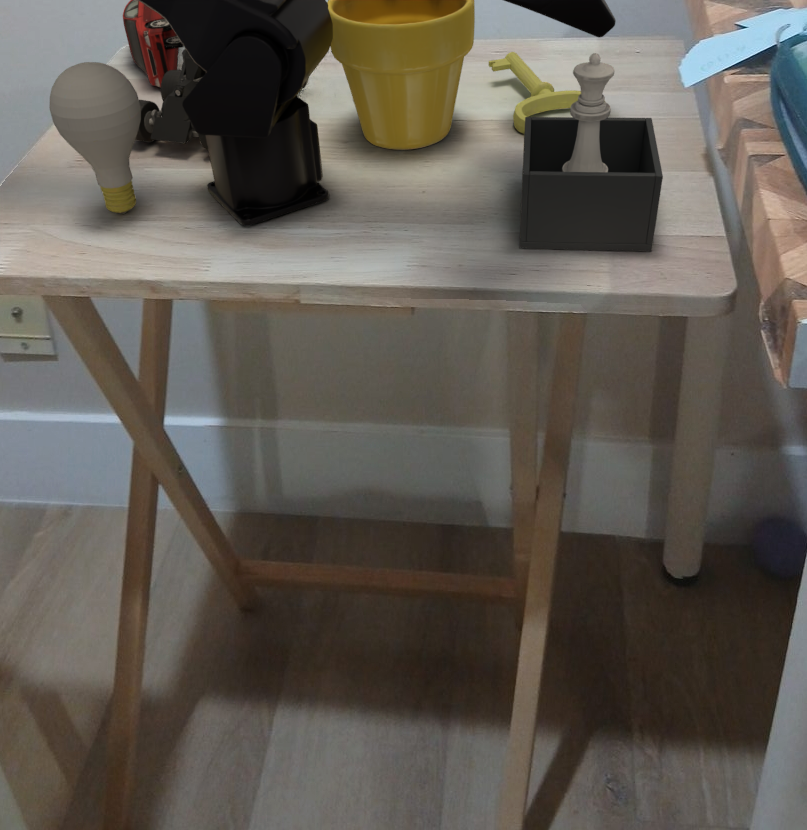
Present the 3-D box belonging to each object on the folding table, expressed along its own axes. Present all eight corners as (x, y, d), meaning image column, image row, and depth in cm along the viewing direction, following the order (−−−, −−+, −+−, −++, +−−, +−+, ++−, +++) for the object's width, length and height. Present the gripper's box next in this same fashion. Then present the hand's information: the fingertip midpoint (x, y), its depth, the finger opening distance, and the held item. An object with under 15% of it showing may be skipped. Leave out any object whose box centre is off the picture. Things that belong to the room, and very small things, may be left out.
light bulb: (173, 192, 65) (140, 48, 59) (150, 232, 61) (111, 81, 54) (99, 192, 66) (58, 48, 59) (70, 231, 62) (23, 82, 55)
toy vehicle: (307, 84, 78) (295, -27, 73) (218, 161, 68) (195, 39, 62) (222, 74, 81) (204, -34, 75) (124, 148, 70) (94, 29, 65)
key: (511, 73, 78) (512, 48, 77) (618, 120, 71) (621, 92, 69) (444, 97, 75) (443, 71, 74) (548, 148, 68) (550, 120, 66)
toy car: (178, -31, 87) (124, -26, 86) (171, 34, 76) (109, 40, 76) (191, 28, 91) (139, 34, 90) (186, 98, 80) (127, 104, 80)
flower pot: (355, 172, 66) (343, 32, 60) (325, 116, 74) (311, -14, 67) (493, 149, 68) (495, 10, 62) (450, 96, 76) (448, -32, 69)
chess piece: (617, 229, 58) (636, 68, 51) (545, 227, 58) (555, 67, 52) (615, 195, 61) (633, 40, 54) (547, 193, 62) (557, 39, 55)
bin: (519, 248, 57) (522, 174, 54) (522, 187, 63) (525, 116, 60) (651, 251, 57) (663, 175, 53) (642, 189, 62) (651, 117, 59)
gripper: (501, -395, 34) (753, -64, 39) (551, -400, 48) (733, -154, 53) (318, -148, 41) (554, 107, 46) (408, -214, 55) (582, -12, 60)
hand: (613, 1), depth 51 cm, fingers open, 9 cm apart
